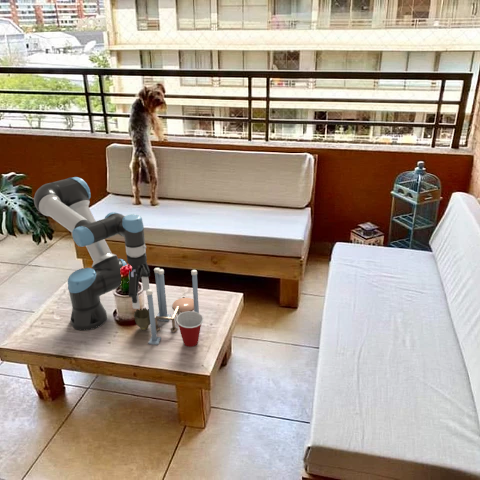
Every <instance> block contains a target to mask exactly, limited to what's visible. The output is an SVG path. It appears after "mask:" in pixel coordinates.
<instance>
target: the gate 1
mask: <svg viewBox="0 0 480 480" xmlns="http://www.w3.org/2000/svg"><path fill="white" fill-rule="evenodd" d="M158 274H159V281H160V291H161V302H162V312H163V317H172V314H168V308H167V307H168V305H167V295H166V285H165V275H164V274H165V270H164V269H163V268H160V270H158ZM153 292H154V291H153V289H151V288H150V289H148V290H146V291H145V294H146V299H147V307H148V308H147V309H149V316H150V325H149V326H150V330H151V331H150V332H151V334H150V335H151V336H150V339H149V340H148V345H154V346H155V345H157V346H159V344H160V342H161V339H162V337H161V336H157V331H156V324H155V317H156V316H155V309H154V308H155V307H154V297H153ZM159 321H160V322H170V320H162V319H159Z"/></svg>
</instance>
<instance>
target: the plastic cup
mask: <svg viewBox="0 0 480 480" xmlns="http://www.w3.org/2000/svg"><path fill="white" fill-rule="evenodd" d="M176 316H177V315H176ZM175 321H176V323H177V325H178V326H177V327H178V329H179V331H180V336H181V338H182V342H183V344H184V346H186V347H195V346H197V345H198V343H199V339H200V338H199V337H200V333H201V328H202V327H201V326H202V324H203V323H204V317H203V314H201V313H200V312H199V313H197V312H194V310H191V311H186V312H180V314H179V315H178V316H177V318H176V317H175Z"/></svg>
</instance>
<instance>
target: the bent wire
mask: <svg viewBox="0 0 480 480" xmlns="http://www.w3.org/2000/svg"><path fill="white" fill-rule="evenodd" d="M180 313H181V312H180V308H179V306H177V308H176V310H174V313H173V315H172V316H171V317H163V316H157V315H156V316H155V324H156V332H159V331H160V330H161V326H160V325H159V323H158V320H160V319H162V320H169V321H171V326H172V327H171V328H170V329H169V330H170V332H171V333H177V332H178V331H179V330H178V329H179V328H178V327H176V322H175V321H176V318H177V316H178V315H179V314H180Z"/></svg>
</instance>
